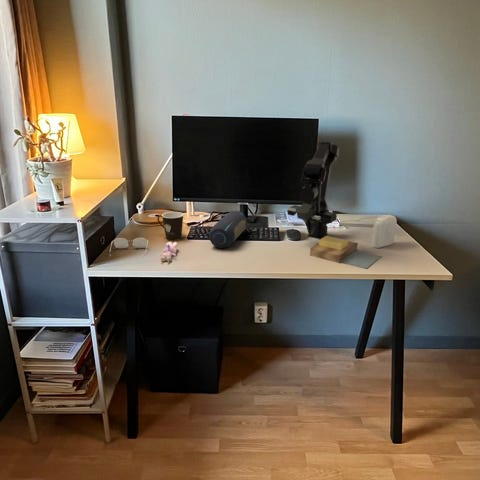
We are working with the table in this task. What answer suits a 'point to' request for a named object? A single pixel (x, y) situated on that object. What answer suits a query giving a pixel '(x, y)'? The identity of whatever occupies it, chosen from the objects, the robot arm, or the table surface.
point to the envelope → (357, 220)
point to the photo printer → (384, 231)
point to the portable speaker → (228, 229)
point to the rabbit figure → (169, 251)
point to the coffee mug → (172, 225)
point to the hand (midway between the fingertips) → (310, 234)
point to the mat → (361, 259)
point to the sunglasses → (136, 242)
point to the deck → (333, 252)
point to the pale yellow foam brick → (333, 242)
